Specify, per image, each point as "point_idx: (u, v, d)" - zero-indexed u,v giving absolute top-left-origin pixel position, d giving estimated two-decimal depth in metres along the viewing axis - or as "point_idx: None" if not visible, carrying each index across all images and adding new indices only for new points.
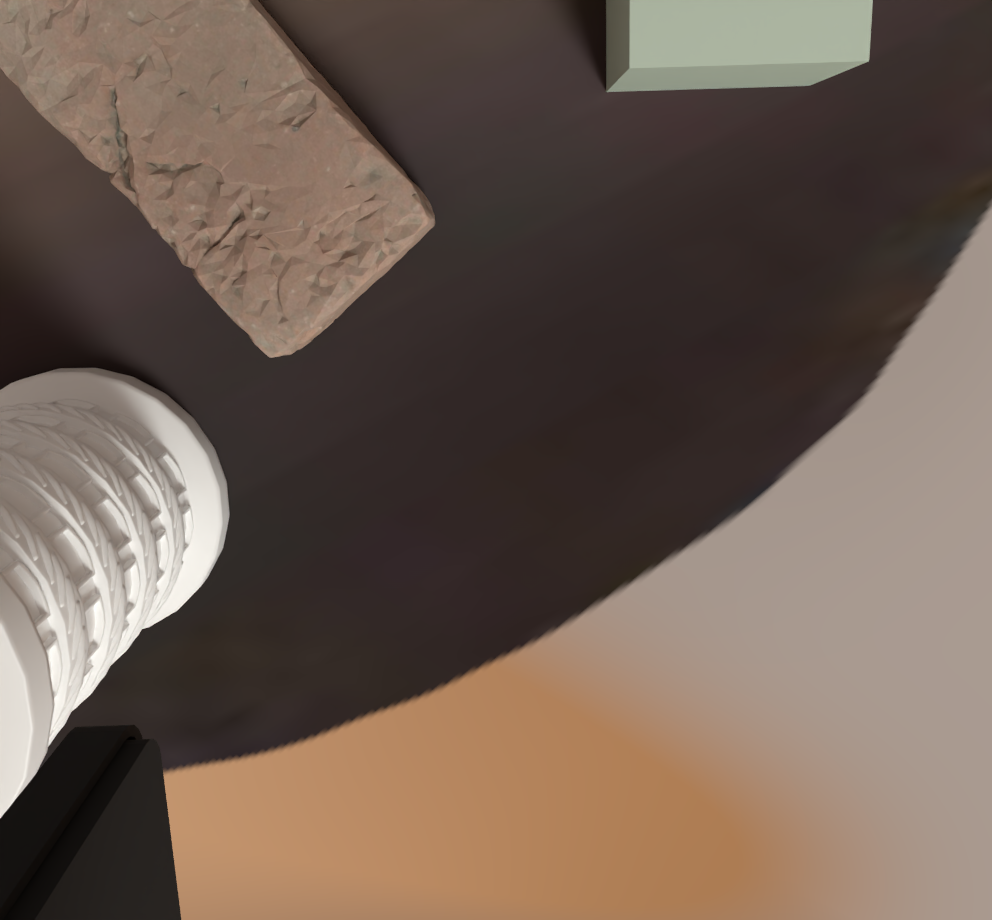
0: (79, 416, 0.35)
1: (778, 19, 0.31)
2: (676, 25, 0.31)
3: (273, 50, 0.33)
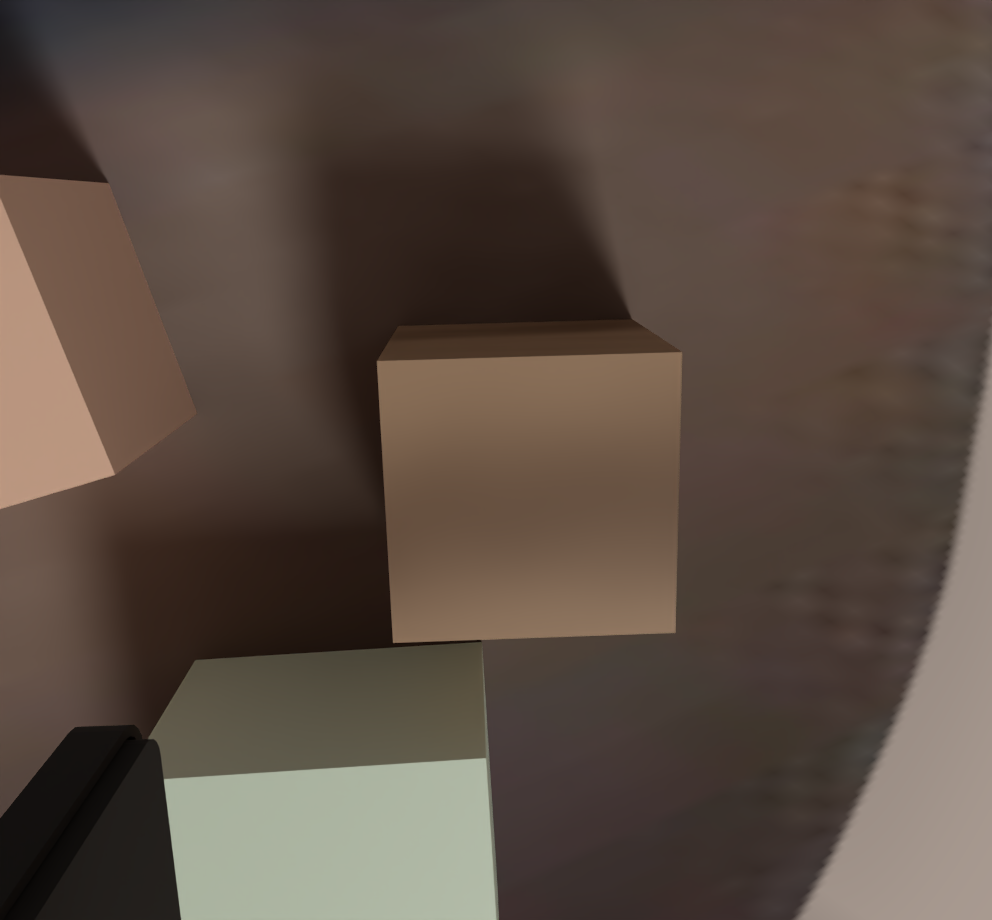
0: None
1: None
2: None
3: None
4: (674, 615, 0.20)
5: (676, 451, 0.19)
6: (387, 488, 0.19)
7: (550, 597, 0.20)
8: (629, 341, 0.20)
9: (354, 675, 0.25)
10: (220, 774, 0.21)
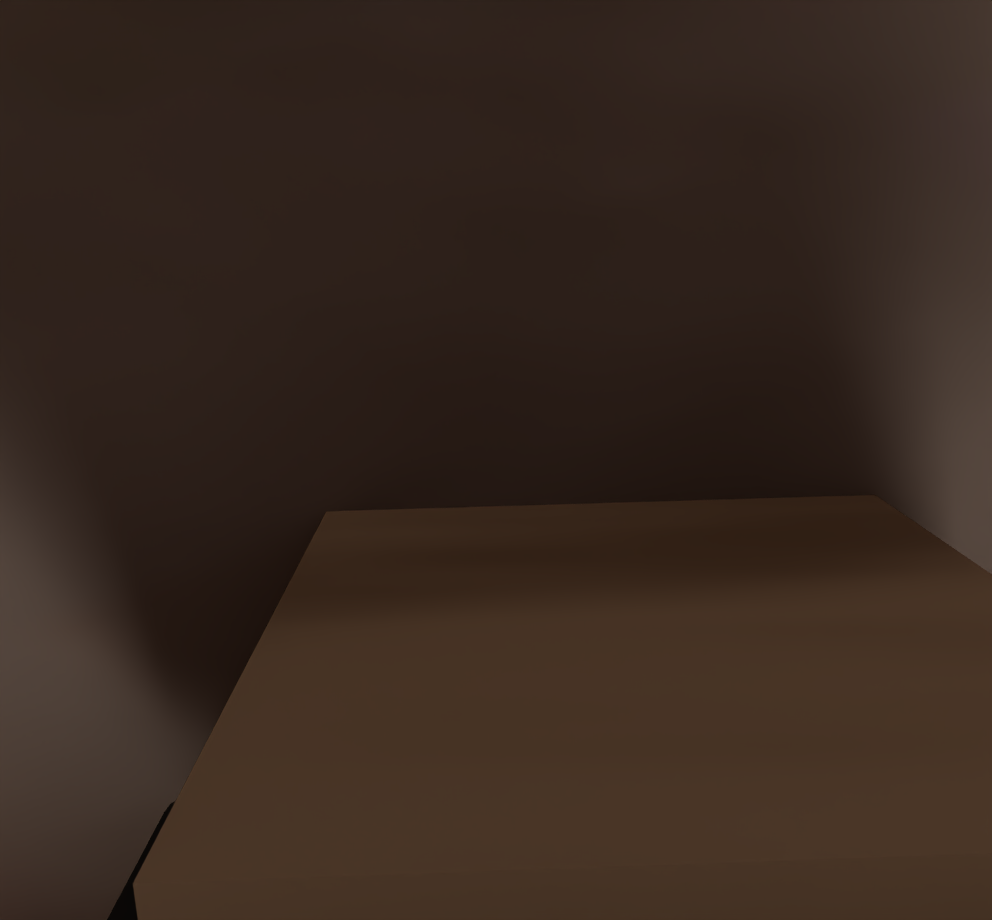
0: None
1: None
2: None
3: None
4: None
5: None
6: None
7: None
8: None
9: None
10: None
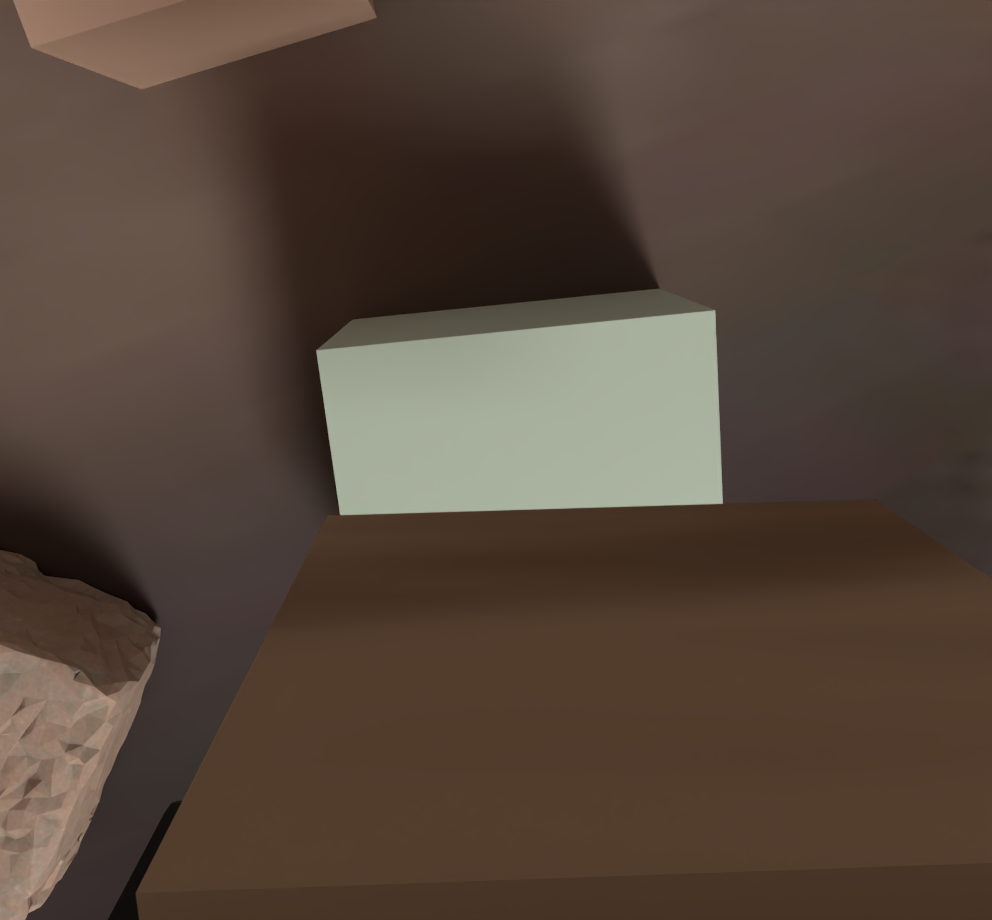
0: None
1: None
2: None
3: None
4: None
5: None
6: None
7: None
8: None
9: (533, 307, 0.23)
10: (423, 339, 0.19)
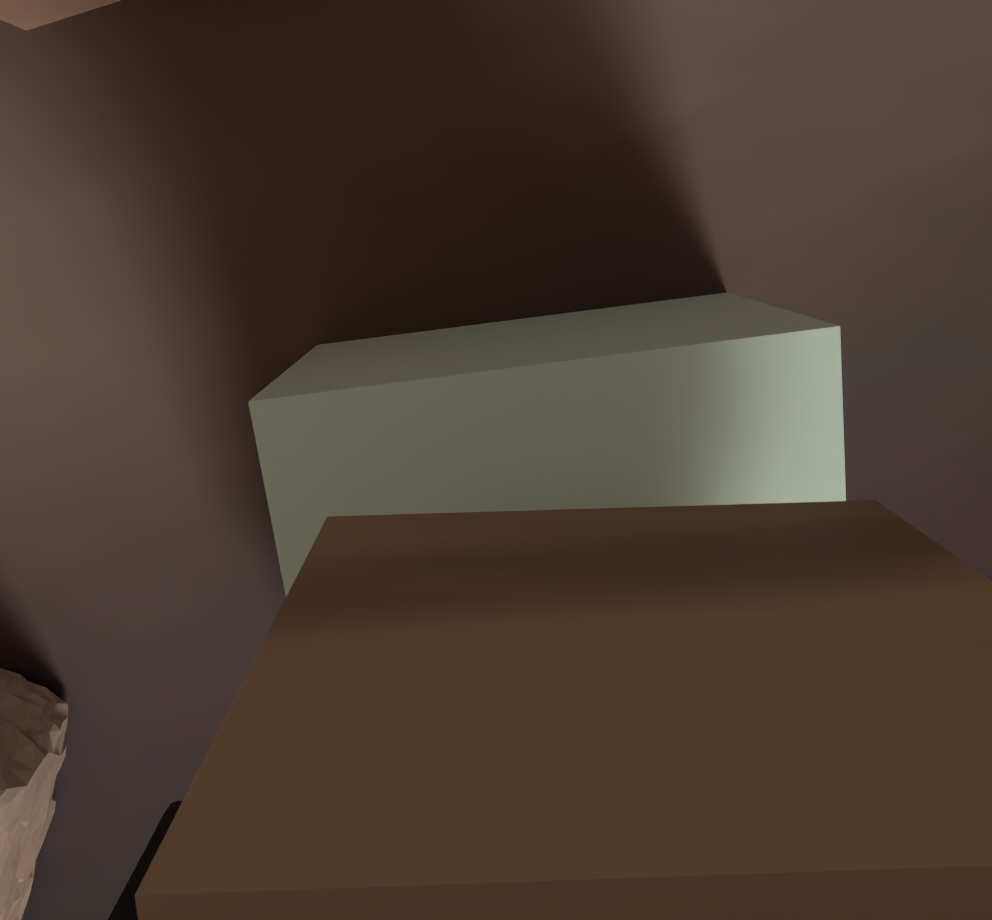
0: None
1: None
2: None
3: None
4: None
5: None
6: None
7: None
8: None
9: (559, 323, 0.17)
10: (406, 380, 0.13)
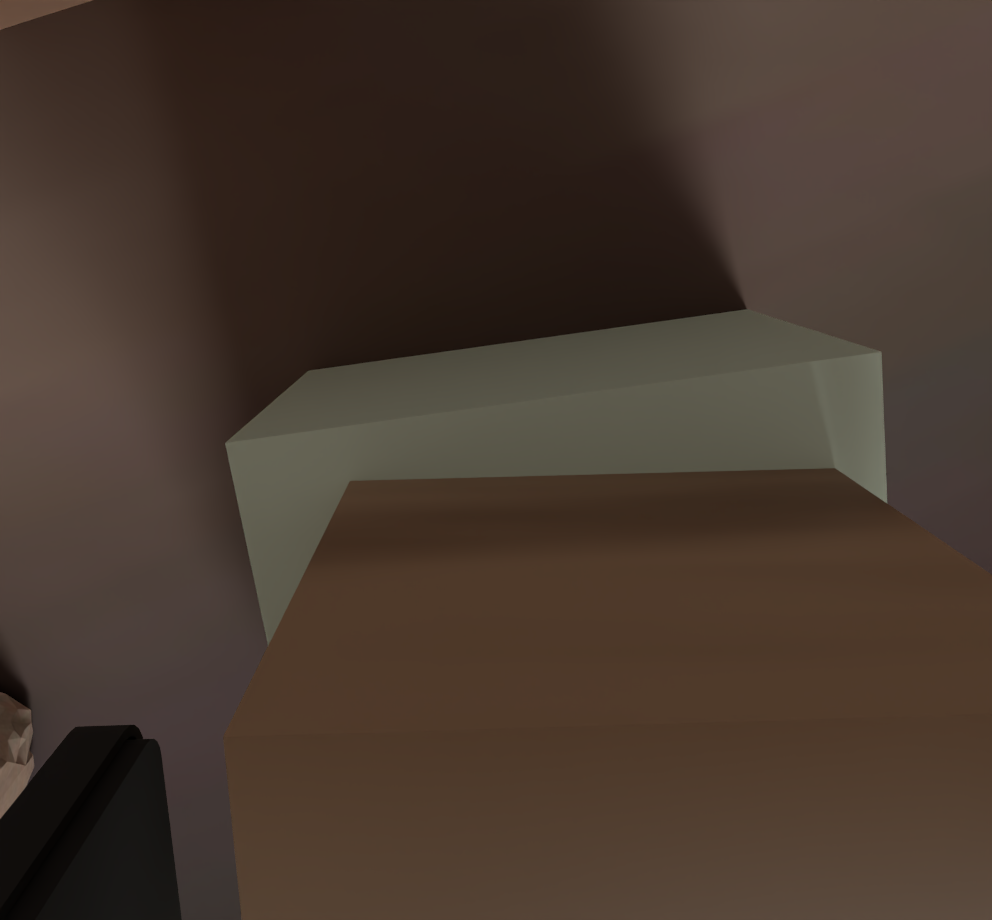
0: None
1: None
2: None
3: None
4: None
5: None
6: None
7: None
8: (938, 604, 0.08)
9: (568, 346, 0.16)
10: (400, 417, 0.12)
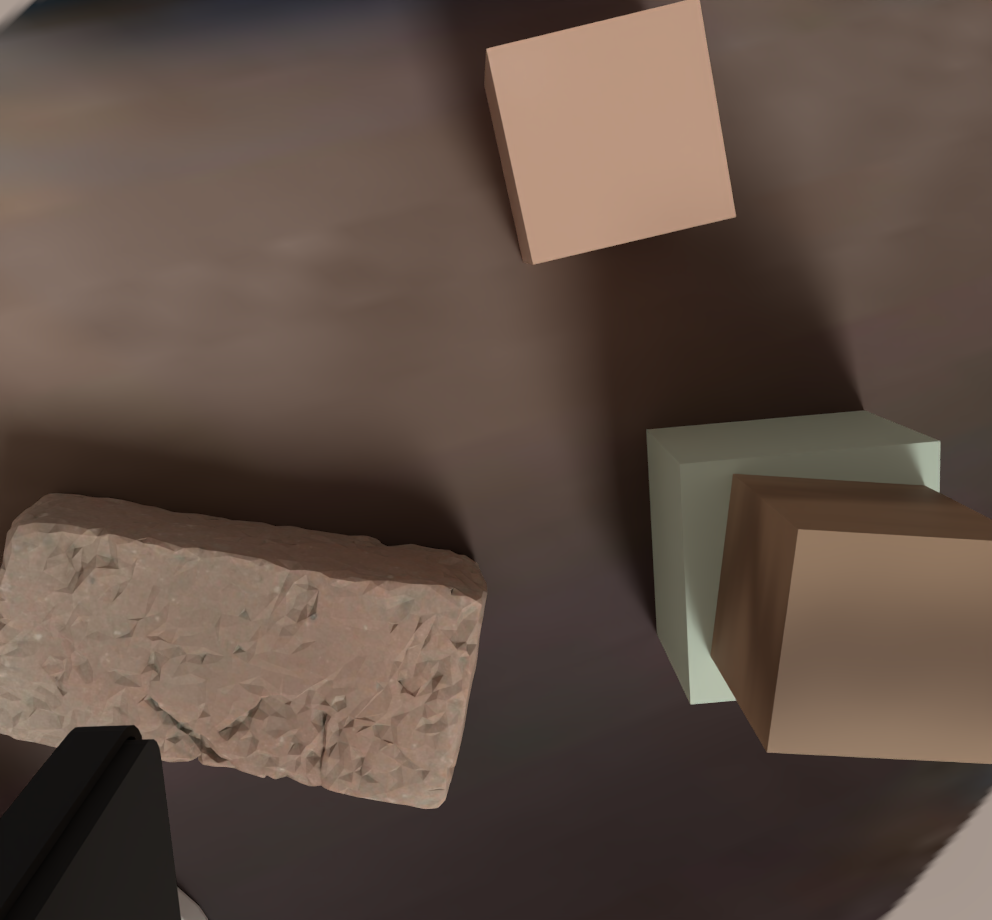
0: None
1: None
2: None
3: (247, 570, 0.31)
4: None
5: None
6: (787, 628, 0.24)
7: (899, 726, 0.24)
8: (972, 522, 0.25)
9: (785, 425, 0.33)
10: (749, 457, 0.29)
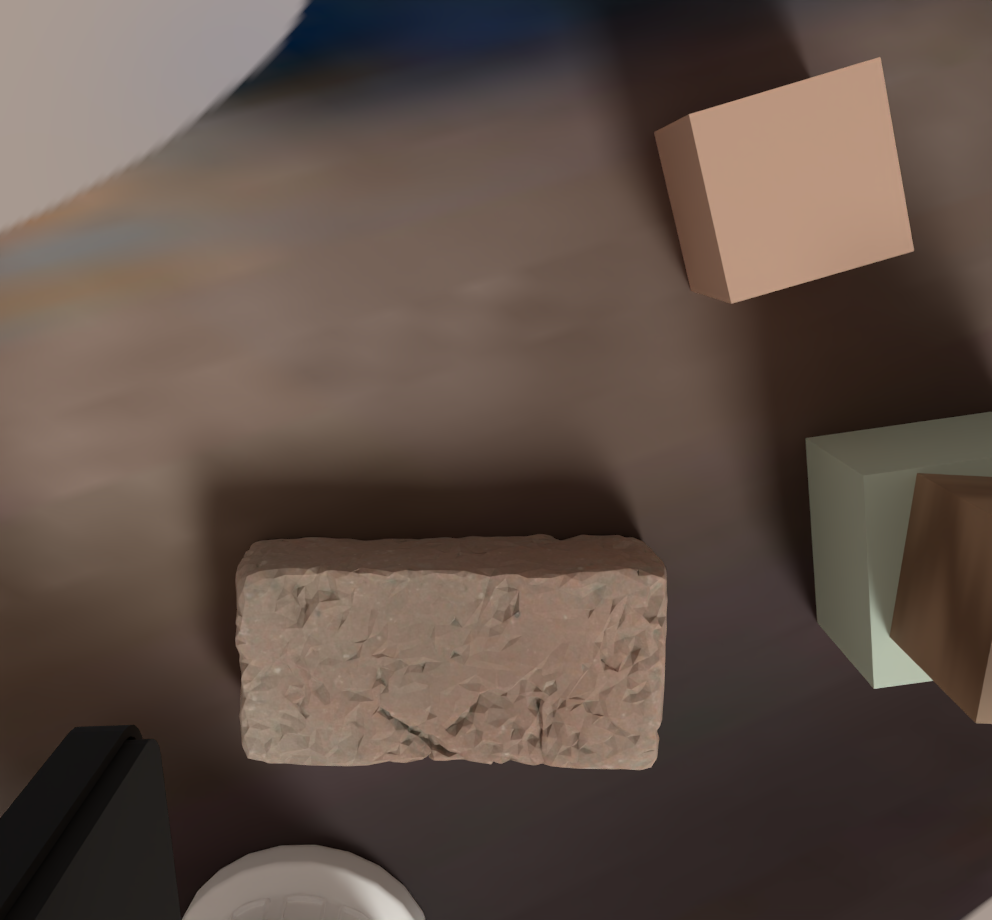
0: None
1: None
2: None
3: (453, 583, 0.35)
4: None
5: None
6: None
7: None
8: None
9: (939, 429, 0.36)
10: (925, 466, 0.32)
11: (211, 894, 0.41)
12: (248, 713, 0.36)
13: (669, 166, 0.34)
